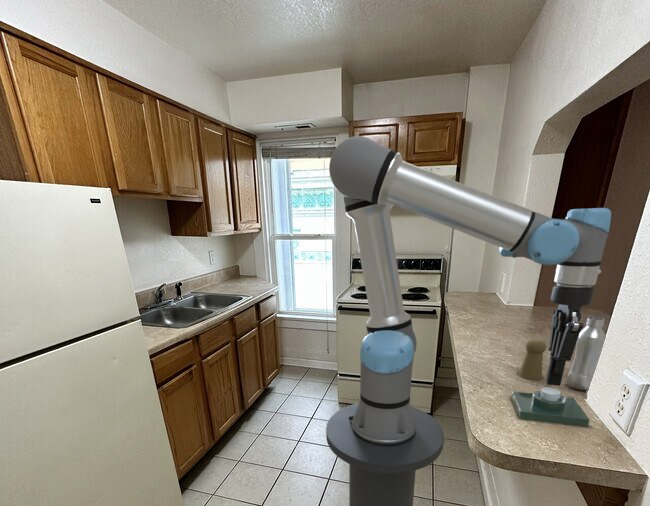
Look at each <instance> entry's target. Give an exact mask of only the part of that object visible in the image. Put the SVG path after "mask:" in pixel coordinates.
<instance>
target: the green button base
mask: <svg viewBox="0 0 650 506" xmlns="http://www.w3.org/2000/svg"><path fill="white" fill-rule="evenodd" d="M540 393H541V390H536V391H534V392H533V393H531V392H522V391H512V392H511V401H512V404H513V407H514V408H515V412H516V414H517V416H518V419H519V420H520V419H521V420H527V421H534V422H544V423H552V424H561V425H569V426H576V427H586V428H588V427H589V423H590V417H588V415H587V414H586V412H585V411H584V410H583V408H582V407H581V405H579V403H578V402H577V401H576V400H577V399H575V398H574V397H571V396H564V395H562V394H560V398H559V401H556V402H554V401H548V400H544V399H542V398H540Z"/></svg>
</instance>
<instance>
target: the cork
mask: <svg viewBox="0 0 650 506" xmlns="http://www.w3.org/2000/svg"><path fill="white" fill-rule="evenodd" d="M546 349H547V344H546V343H545V342H544V341H541V340H537V339H531V340H528V341H527V342H526V343H525V350H526V352H525V355H524V358H523V361H522V364H521V367H520V369H519V372H518V375H519V376H520V377H522V378H524V379H527V380H533V381H537V380H541V379H542V377H543V376H542V375H543V356H544V353H545V351H546Z"/></svg>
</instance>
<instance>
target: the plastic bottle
mask: <svg viewBox="0 0 650 506" xmlns="http://www.w3.org/2000/svg"><path fill="white" fill-rule="evenodd" d="M585 325H586V326H585V327H583V328H582V330H581V332H580V334H579V337H578V340H577V343H576V345H575V350H574V351H575V353H574V358H573V361H572V364H571V367H570V370H569V372H568V373H567V375H566V382H567V384H568V386H569V387H571V388H573V389H576V390H579V391H588V390H590V389H589V386H590V383H591V381H592V378H593V375H594V372H595V369H596V370H597V368H596V366H597V367H598V362H599V358H600V357H601V353H602V351H603V349H602V347H603V348H604V346H603V344H604V341H605V338H606V339H607V336H606V333H605V331H604V330H603V327H604V325H605V318H603V317H600V316H588V317H587V319H586V322H585ZM604 345H605V344H604Z"/></svg>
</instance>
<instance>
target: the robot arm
mask: <svg viewBox="0 0 650 506" xmlns="http://www.w3.org/2000/svg"><path fill="white" fill-rule="evenodd" d="M328 166H329V167H328V172H329V179H330V180H331V183H332V186H333V187H334V189H335V190H336V191H337V192H338V193H339V194H340V195H341V196H342V200H343V205H344V210H345V215H346V216H347V217H349V218H350V219H352V221H353V224H354V230H355V236H356V242H357V247H358V254H359V259H360V264H361V270H362V277H363V281H364V282H363V283H364V286H365V287H364V288H365V292H366V299H367V304H368V305H367V306H368V310H369V316H370V317H369V318H368V319H367V321H366V323H365V326H366V334H367V335H365V336H364V338H363V339H362V341H361V344H360V349H359V358H360V378H359V379H360V383H359V388H360V389H359V393H360V395H359V400H358V403H359V404H358V406H357V409H356V412H355V414H354V416H349V420H353V421H352V429H353V432H354V434H355V435H356V436H357V437H358V438H360V439H361V440H363V441H365V442H367V443H370V444H373V445H378V446H397V445H402V444H405V443H407V442H409V441H410V440H411V439H412V438H413V437H414V436H415V433H416V422H415V419H414V415H413V412H412V408H411V407H412V405H411V389H412V375H413V366H414V360H415V353H416V351H417V343H418V342H417V337H416V335H415V331H414V328H413V321H412V316H411V314H409V313H407V312H406V311H405V309H404V302H403V296H402V289H401V281H400V274H399V267H398V262H397V255H396V248H395V247H396V246H395V241H394V240H395V239H394V234H393V227H392V221H391V210H392V208H393V207H395V206H396V207H398V208H400V209H403V210H405V211H408V212H411V213H413V214H415V215H418V216H421V217H423V218H426V219H428V220H430V221H433V222H436V223H438V224H441V225H444V226H446V227H448V228H451V229H453V230H456V231H459V232H461V233H463V234H466V235H469V236H470V237H474V238H475V239H478V240H481V241H484V242H486V243H488V244H491V245H494V246H495V247H498V251H499V254H500V256H501V257H503V258H513V259H515V258H525V259H528V260H530V261H533V263H536V264H539V265H542V266H555V265H556V269H555V274H554V280H553V282H554V283H555V285H554V286H552V291H551V296H550V301H551V302H552V303H554V304H556V305H557V309H553V310H552V312H551V315H552V322H551V331H550V336H549V345H548V352H550V355H549V364H548V369H547V374H546V378H545V383H546V385H547V386H557V387H561V384H562V381H563V375H564V372H565V366H566V362H571V360H572V356H573V354H574V351H575V349H576V343H577V340H578V337H579V334H580V332H581V330H582V329H584V323H583V322H580V321H581V318H582V313H581V310H582V309H581V308H582V307H583V306H585V307H586V306H589V305H591V304H592V303H593V299H594V294H595V287H594V285H596V284H597V280H598V276H599V275H601V273H602V269H600V267H601V264H602V259H603V255H604V251H605V247H606V243H607V240H608V235H609V234H610V228H611V227H610V226H611V222H612V221H611V220H612V219H611V218H612V211H611V210H610V209H609V208H607V207H594V208H593V207H591V208H589V207H588V208H574V209H573V208H572V209H569V210H568V211H567V214H566V216H565V218H553V217H550V216H547V215H545V214H543V213H540V212H536V211H533V210H532V209H530V208H526V207H524V206H522V205H518V204H516V203H514V202H511V201H508V200H507V199H503V198H500V197H498V196H495V195H492V194H490V193H487V192H484V191H483V190H480V189H477V188H475V187H472V186H469V185H466V184H464V183H462V182H458V181H456V180H453V179H451V178H449V177H446V176H443V175H440V174H438V173H435V172H433V171H430V170H428V169H425V168H422V167H419V166H417V165H415V164H412V163H409V162H407V161H404V159H403V157H402V154H401V152H398V151H396V150H393V149H391V148H388V147H386V146H384V145H382V144H379V143H378V142H376V141H375V140H373V139H371V138H369V137H368V136H363V135H354V136H350V137H347V138H345V139H344V140H342V141H341V142H340V143H339V144H338V145H337V146H336V147H335V149H334V150H333V152H332V154H331V157H330V159H329V164H328Z"/></svg>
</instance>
